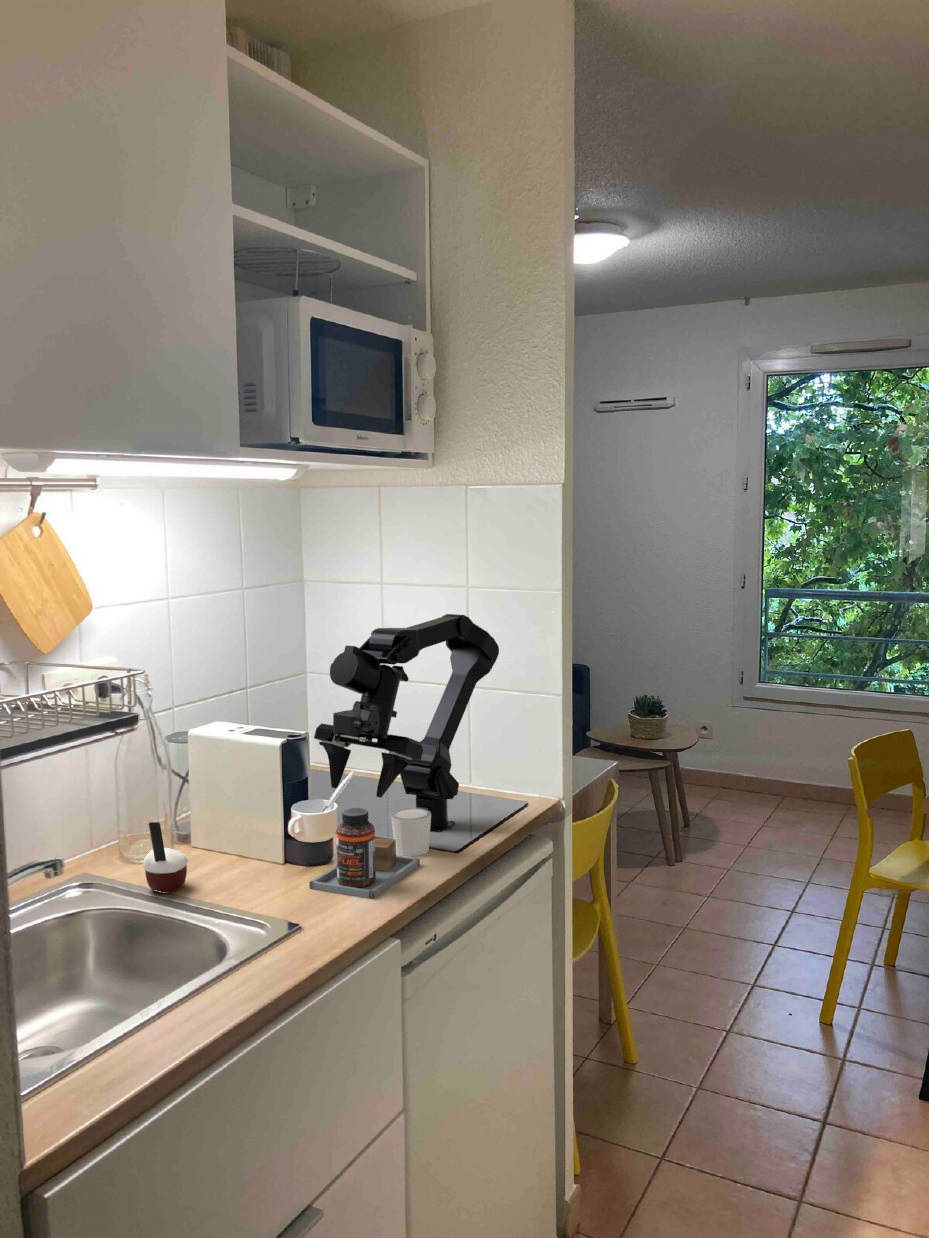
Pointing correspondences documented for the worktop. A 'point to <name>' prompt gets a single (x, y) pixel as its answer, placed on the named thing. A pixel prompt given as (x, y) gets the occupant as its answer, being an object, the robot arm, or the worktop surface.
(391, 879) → the tray
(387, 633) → the robot arm
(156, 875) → the cocoa
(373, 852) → the supplement bottle
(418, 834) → the white cup
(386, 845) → the walnut block
